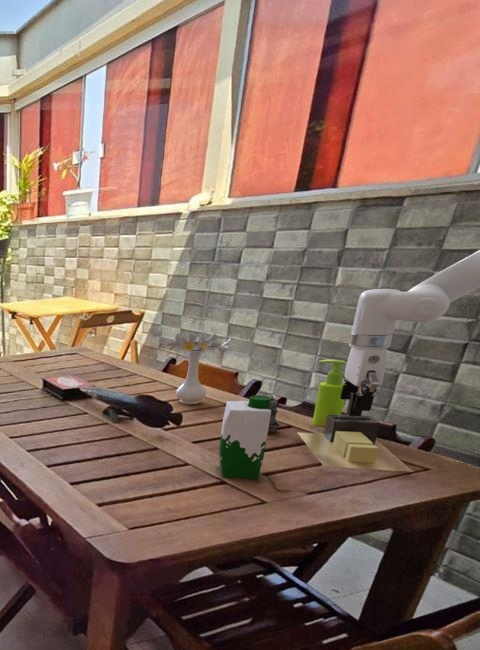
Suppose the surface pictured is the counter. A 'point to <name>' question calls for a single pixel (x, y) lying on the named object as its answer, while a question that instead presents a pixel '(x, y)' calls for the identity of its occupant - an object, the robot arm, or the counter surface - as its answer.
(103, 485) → the counter surface
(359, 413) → the knife
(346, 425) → the block
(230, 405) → the milk carton
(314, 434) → the cutting board
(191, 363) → the flower vase
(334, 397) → the soap dispenser
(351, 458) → the butter slice
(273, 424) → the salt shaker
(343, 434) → the butter
